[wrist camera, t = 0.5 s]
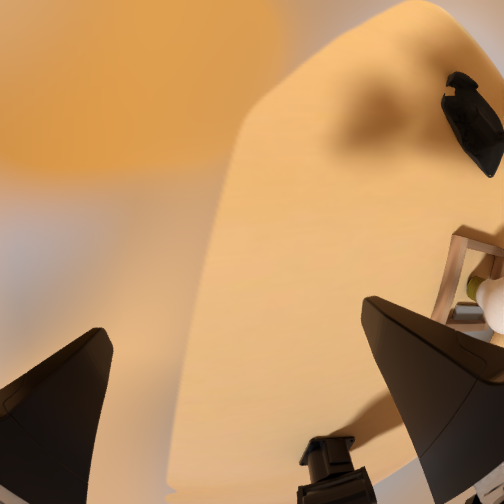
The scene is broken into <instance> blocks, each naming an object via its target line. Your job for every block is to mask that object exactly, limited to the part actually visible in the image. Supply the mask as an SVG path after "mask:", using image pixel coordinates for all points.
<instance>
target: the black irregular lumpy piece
mask: <svg viewBox="0 0 504 504" xmlns="http://www.w3.org/2000/svg"><path fill="white" fill-rule="evenodd" d="M447 86H451V87H454V88H455V96H445V93H444V95H443V98H442V102H441V106H442V109H443V111H444V113H445V115H446V117H447V120H448V122H449V123H450V125H451V127H452V129H453V131H454V133H455V135H456V137H457V140H458V142H459V143H460V145H461V147H462V148H463V150H464V151H465V152H466V153H467V154H468V155H469V156H470V157H471V158H472V160H473V161H474V162H475V163H476V164H477V165H478V167H479V168H480V169H481V170H482V171H483V172H484V173H485V175H486V176H487V177H489V178H492V177H493V176H494V174H495V173H496V170H497V168H498V166H499V164H500V161H501V158H502V156H503V153H504V129H503V126H502V124H501V121H500V119H499V117H498V116H497V114H496V113H495V112H494V110H493V109H492V108H491V107H490V105H489V104H488V103H487V102H486V101H485V99H484V98H483V97H482V96H481V95H480V94H479V93H478V91H477V90H476V89H477V88H478V85H477V83H476V82H475V81H474V80H472V79H471V78H470V77H469V76H468V75H466V74H464V73H461V72H454V73H453V74H451V75H449V77H448V80H447V84H446V87H447ZM488 175H489V176H488ZM490 175H491V176H490Z"/></svg>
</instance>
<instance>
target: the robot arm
mask: <svg viewBox="0 0 504 504" xmlns="http://www.w3.org/2000/svg"><path fill="white" fill-rule="evenodd" d="M361 323H362V326H363V329H364V332H365V334H366V337H367V340H368V342H369V345H370V348H371V351H372V354H373V356H374V359H375V361H376V363H377V365H378V367H379V370H380V372H381V374H382V376H383V378H384V380H385V382H386V384H387V386H388V388H389V390H390V393H391V395H392V397H393V399H394V401H395V403H396V406H397V408H398V410H399V412H400V415H401V417H402V419H403V421H404V424H405V426H406V428H407V431H408V433H409V436H410V438H411V440H412V443H413V445H414V448H415V450H416V453H417V455H418V457H419V458H420V459H419V460H420V463H421V466H422V468H423V471H424V474H425V477H426V479H427V482H428V484H429V487H430V491H431V493H432V496H433V499H434V502H435V504H444V503H446V502H448V501H450V500H451V499H453V498H455V497H456V496H458V495H459V494H461V493H462V492H464V491H465V490H467V489H468V488H470V487H471V486H474V488H475V490H476V492H477V493H476V494H474V495H473V496H472V497H470V498H469V499H467V500H466V502H465V504H504V348H503V347H500V346H497V345H494V344H491V343H488V342H485V341H482V340H480V339H477V338H474V337H472V336H469V335H467V334H465V333H462V332H460V331H458V330H457V331H456V330H455V329H453V328H451V327H448V326H446V325H444V324H441V323H439V322H437V321H434V320H432V319H429V318H427V317H425V316H422V315H420V314H418V313H415V312H413V311H411V310H408V309H406V308H404V307H401V306H399V305H396V304H394V303H392V302H389V301H387V300H385V299H382V298H380V297H377V296H370V297H366V298H364V300H363V305H362V313H361ZM112 356H113V345H112V343H111V341H110V339H109V337H108V335H107V332H106V331H105V329H104V328H92V329H91V330H89V331H88V332H86V333H85V334H83V335H82V336H80V337H79V338H77V339H75V340H74V341H72V342H71V343H69V344H68V345H66V346H65V347H63V348H62V349H60V350H59V351H57V352H56V353H55V354H53V355H52V356H50V357H49V358H47V359H46V360H44V361H42V362H41V363H40V364H38V365H37V366H35V367H34V368H32V369H31V370H29V371H28V372H27V373H25V374H23V375H22V376H20V377H19V378H18V379H16V380H14V381H13V382H11V383H10V384H8V385H7V386H5V387H4V388H2V389H0V504H86V501H87V491H88V480H89V474H90V467H91V459H92V454H93V449H94V443H95V438H96V433H97V428H98V423H99V419H100V414H101V410H102V405H103V402H104V398H105V394H106V389H107V385H108V379H109V373H110V367H111V362H112ZM354 441H355V438H354V437H343V438H327V439H312V440H310V441H309V443H308V446H307V448H306V450H305V452H304V454H303V456H302V458H301V460H300V462H299V465H301V466H306V465H308V468H309V474H310V480H311V484H309V485H305V486H303V485H302V486H298V491H297V504H377V500H376V496H375V493H374V489H373V486H372V484H371V481H370V479H369V476H368V474H367V471H366V469H365V466H364V467H361V468H360V469H357V470H354V467H353V464H352V460H351V456H350V453H349V449H350V448H351V446H352V444H353V443H354Z"/></svg>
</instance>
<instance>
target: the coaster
mask: <svg viewBox="0 0 504 504" xmlns="http://www.w3.org/2000/svg"><path fill="white" fill-rule="evenodd" d="M482 313H483V309H482V308H481V307H480V306H475V305H456V307H455V310H454V313H453V316H452V319H453V320H480V318H481V316H482ZM462 333H465V334H467V335H469V336H472V337H474V338H477V339H480V340H482V341H485V342H488V343H490V340H491V338H492V335H493V333H494V330H493V329H492V328H491V327H490V326H488V329H487V331H471V332H462Z"/></svg>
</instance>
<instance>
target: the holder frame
mask: <svg viewBox="0 0 504 504" xmlns="http://www.w3.org/2000/svg"><path fill="white" fill-rule="evenodd" d="M466 248H469V249H473V250H477V251H480V252H484V253H488V254H492V255H495V260H494V264H493V268H492V273H491V277H490V280H497V279H499V278H502V277H504V249H502V248H499V247H495V246H492V245H489V244H486V243H482V242H479V241H475V240H472V239H468V238H465V237H461V236H457V235H453V234H452V239H451V244H450V249H449V254H448V259H447V263H446V267H445V271H444V275H443V279H442V283H441V287H440V290H439V294H438V297H437V300H436V304H435V307H434V310H433V313H432V316H431V319H432V320H434V321H437V322H439V323H441V324H444V325H446V326H448V327H451V328H453V329H455V330H456V331H457V330H458V331H460V332H471V331H487V329H488V326H489V324H488V323H487V320H486V318H485V314H484V311H483V313H482V316H481V318H480V320H453V319H452V318H448V315H449V312H450V309H451V306H452V303H453V299H454V296H455V293H456V289H457V286H458V282H459V278H460V274H461V270H462V266H463V262H464V257H465V253H466Z"/></svg>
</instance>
